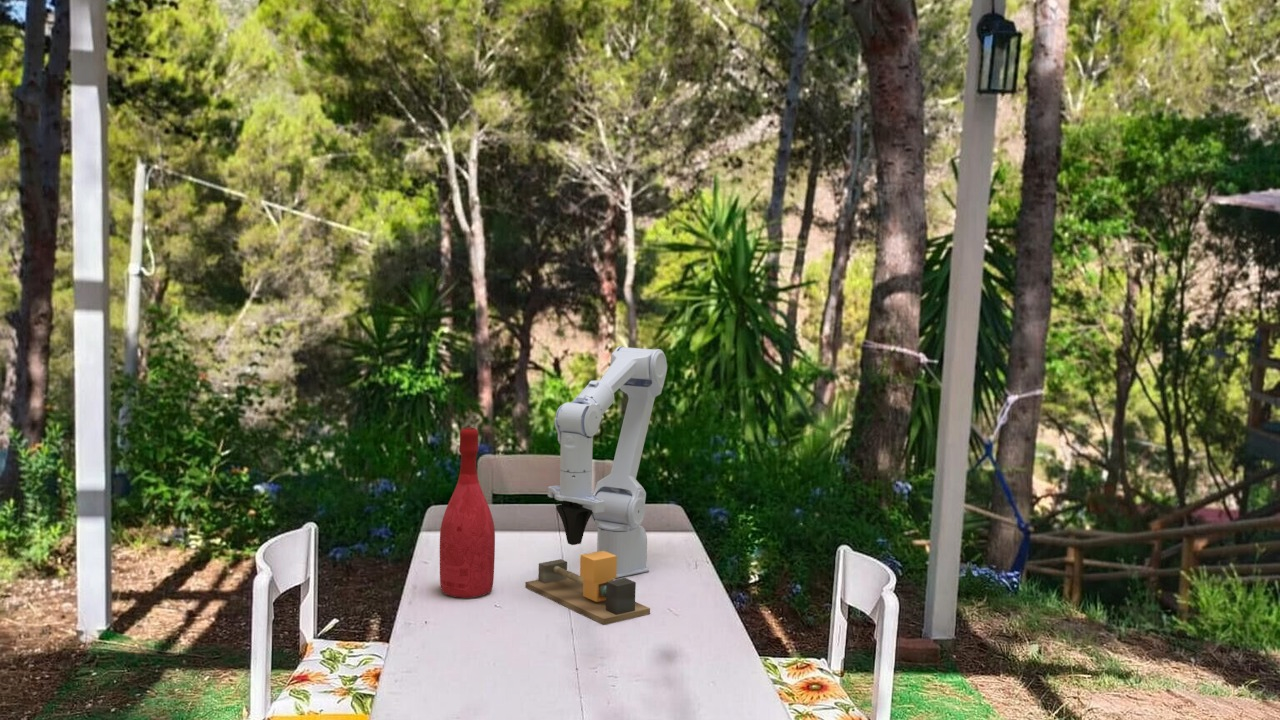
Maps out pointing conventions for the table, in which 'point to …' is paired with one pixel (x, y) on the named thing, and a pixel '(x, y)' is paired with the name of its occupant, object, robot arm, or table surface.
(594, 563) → the orange notched block
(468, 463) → the wine bottle
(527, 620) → the table surface
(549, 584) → the cord rig
